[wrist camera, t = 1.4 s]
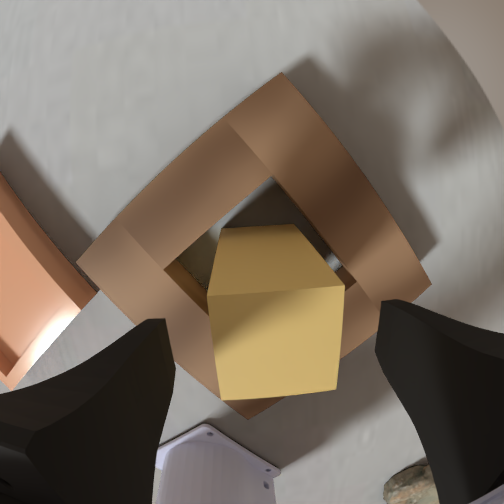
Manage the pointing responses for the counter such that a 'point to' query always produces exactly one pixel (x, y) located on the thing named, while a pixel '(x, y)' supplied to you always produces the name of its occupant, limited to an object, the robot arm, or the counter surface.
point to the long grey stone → (411, 487)
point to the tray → (32, 289)
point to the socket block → (227, 197)
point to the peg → (273, 314)
